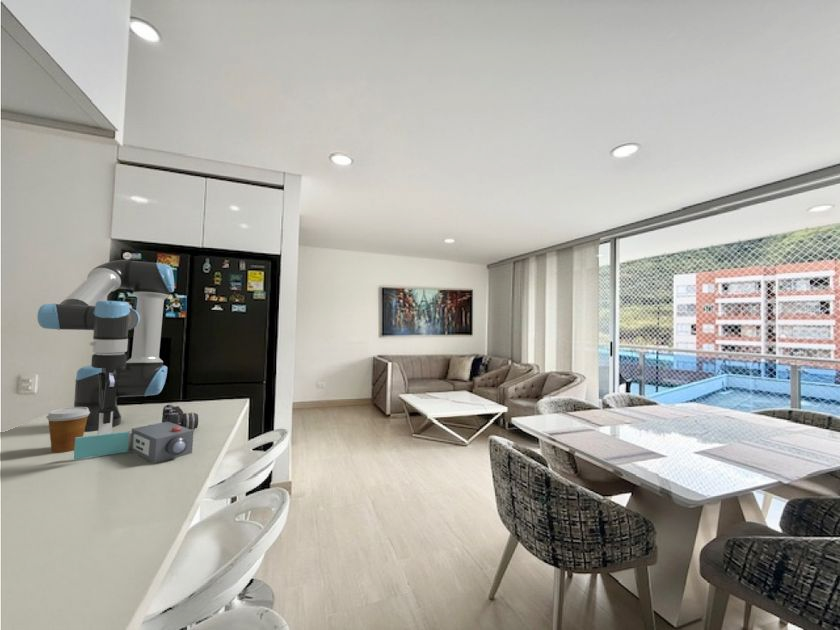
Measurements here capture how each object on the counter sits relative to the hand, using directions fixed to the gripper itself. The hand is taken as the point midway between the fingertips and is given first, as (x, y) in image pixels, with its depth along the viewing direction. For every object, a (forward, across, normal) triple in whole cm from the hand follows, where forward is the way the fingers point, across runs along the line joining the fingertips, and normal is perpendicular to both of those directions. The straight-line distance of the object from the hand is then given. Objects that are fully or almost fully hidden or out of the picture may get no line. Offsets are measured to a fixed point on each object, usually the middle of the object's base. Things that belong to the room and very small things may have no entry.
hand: (104, 433), depth 99 cm
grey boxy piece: (+8, +5, +13) cm, 16 cm away
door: (+7, -4, +1) cm, 8 cm away
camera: (+9, -12, +22) cm, 27 cm away
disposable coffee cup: (+8, -18, -6) cm, 21 cm away
